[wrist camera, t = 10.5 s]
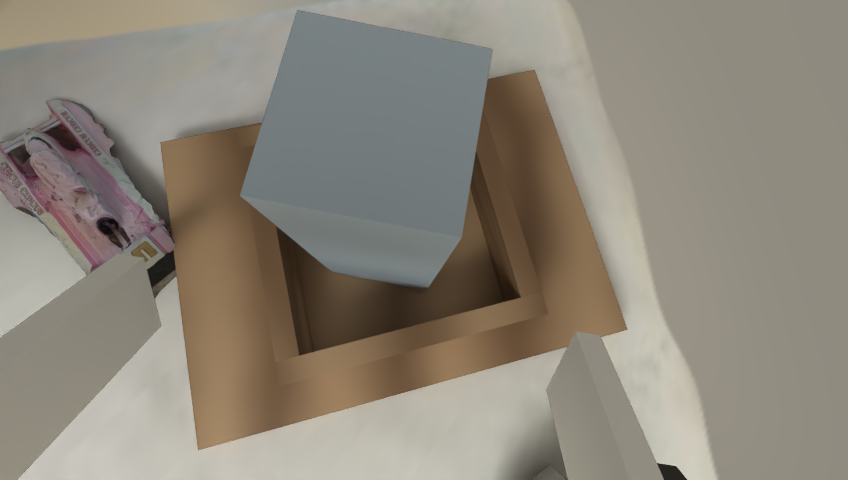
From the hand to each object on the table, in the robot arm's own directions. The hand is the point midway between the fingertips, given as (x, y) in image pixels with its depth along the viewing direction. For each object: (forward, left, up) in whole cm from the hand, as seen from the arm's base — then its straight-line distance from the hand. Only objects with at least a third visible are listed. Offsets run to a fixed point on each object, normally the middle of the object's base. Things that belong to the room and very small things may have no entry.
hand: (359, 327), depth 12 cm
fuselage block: (+2, +4, -8) cm, 9 cm away
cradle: (+2, +5, -9) cm, 10 cm away
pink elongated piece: (-13, +10, -10) cm, 19 cm away
